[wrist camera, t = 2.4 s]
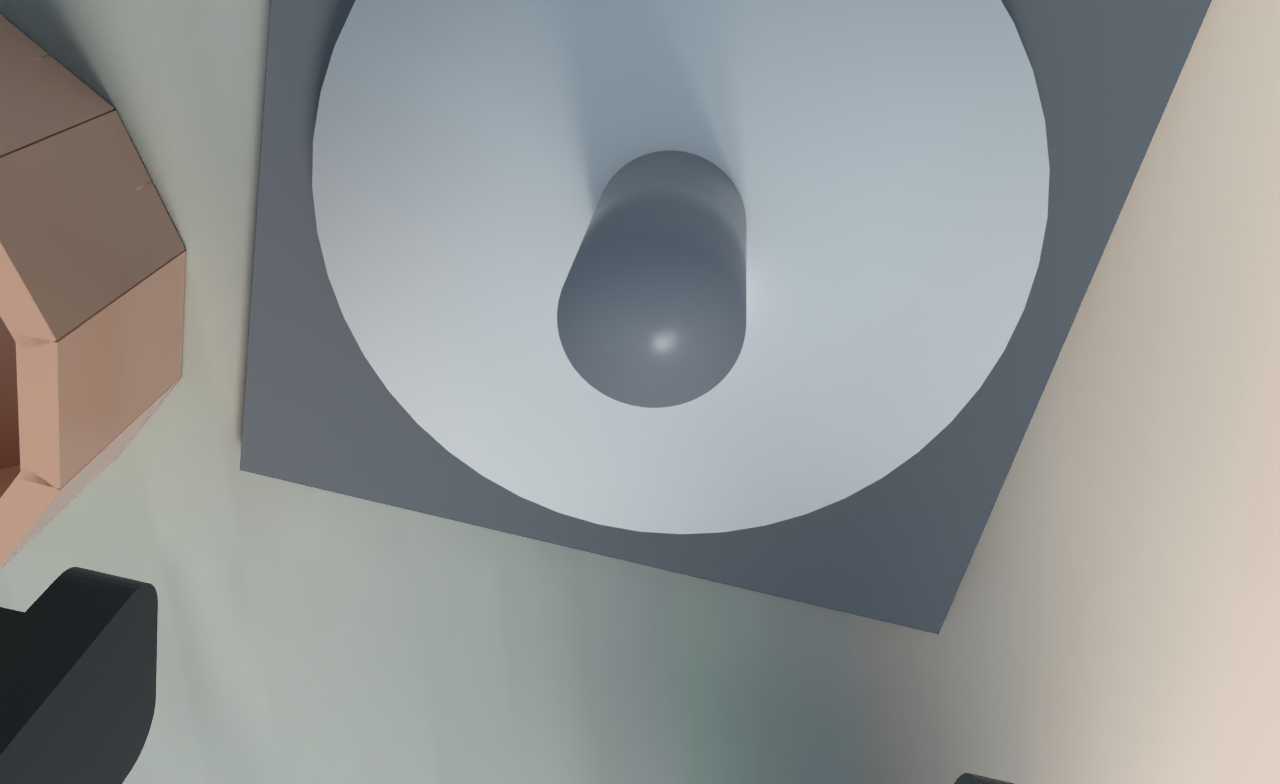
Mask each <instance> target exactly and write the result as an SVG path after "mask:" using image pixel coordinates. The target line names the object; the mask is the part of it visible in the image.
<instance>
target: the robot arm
mask: <svg viewBox="0 0 1280 784" xmlns="http://www.w3.org/2000/svg"><path fill="white" fill-rule="evenodd" d="M157 612H158V599H157V592H156V590H155V587H154V586H153V585H151V584H149V583H145V582H140V581H136V580H132V579H127V578H123V577H118V576H114V575H110V574H105V573H101V572H96V571H92V570H88V569H83V568H79V567H73V568H70V569H68V570H66V571H65V572H63V573H62V574H61V575H60V576H59V577H58V578H57V579H56V580H55V581H54V582H53V583H52V584H51V585H50V586H49V587H48V589H47V590H46V591H45V592H44V593H43V594H42V595H41V596H40V597H39V598H38V599H37V600H36V601H35V602H34V603H33V604H32V606H31V607H30V608H29V609H28V610H27V611H26V612H25V613H24V612H20V611H15V610H11V609H6V608H2V607H0V784H122V783H123V781H124V780H125V778H126V777H127V775H128V774H129V772H130V771H131V769H132V767H133V766H134V764H135V762H136V761H137V759H138V757H139V755H140V753H141V751H142V748H143V746H144V744H145V741H146V739H147V736H148V733H149V730H150V726H151V723H152V719H153V715H154V709H155V700H156V659H157ZM954 784H1013V783H1009V782H1004V781H1000V780H996V779H991V778H987V777H983V776H978V775H974V774H969V773H965V774H962V775H961V776H960V777H959V778H958V779H957V780H956V782H955V783H954Z"/></svg>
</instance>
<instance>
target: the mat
mask: <svg viewBox="0 0 1280 784" xmlns="http://www.w3.org/2000/svg"><path fill="white" fill-rule="evenodd" d="M355 1H356V0H271V6H270V22H269V37H268V52H267V67H266V82H265V97H264V112H263V127H262V143H261V158H260V173H259V188H258V203H257V218H256V233H255V248H254V264H253V279H252V294H251V309H250V324H249V339H248V354H247V369H246V385H245V400H244V415H243V430H242V445H241V460H240V470H242V471H247V472H251V473H255V474H259V475H264V476H268V477H272V478H276V479H281V480H285V481H289V482H293V483H298V484H302V485H306V486H310V487H315V488H319V489H323V490H328V491H332V492H336V493H340V494H345V495H349V496H353V497H357V498H362V499H366V500H370V501H374V502H379V503H383V504H387V505H391V506H396V507H400V508H404V509H408V510H413V511H417V512H421V513H425V514H430V515H434V516H438V517H442V518H447V519H451V520H455V521H459V522H464V523H468V524H472V525H476V526H481V527H485V528H489V529H493V530H498V531H502V532H506V533H510V534H515V535H519V536H523V537H527V538H532V539H536V540H540V541H544V542H549V543H553V544H557V545H561V546H566V547H570V548H574V549H578V550H583V551H587V552H591V553H595V554H600V555H604V556H608V557H613V558H617V559H621V560H625V561H630V562H634V563H638V564H642V565H647V566H651V567H655V568H659V569H664V570H668V571H672V572H676V573H681V574H685V575H689V576H693V577H698V578H702V579H706V580H710V581H715V582H719V583H723V584H727V585H732V586H736V587H740V588H744V589H749V590H753V591H757V592H761V593H766V594H770V595H774V596H778V597H783V598H787V599H791V600H795V601H800V602H804V603H808V604H812V605H817V606H821V607H825V608H829V609H834V610H838V611H842V612H846V613H851V614H855V615H859V616H863V617H868V618H872V619H876V620H880V621H885V622H889V623H893V624H898V625H902V626H906V627H910V628H915V629H919V630H923V631H927V632H932V633H936V634H939V632H940V629H941V627H942V625H943V622H944V620H945V618H946V616H947V613H948V611H949V609H950V606H951V604H952V602H953V599H954V597H955V595H956V592H957V590H958V588H959V585H960V583H961V581H962V578H963V576H964V574H965V571H966V569H967V567H968V564H969V562H970V560H971V558H972V555H973V553H974V551H975V548H976V546H977V544H978V541H979V539H980V537H981V534H982V532H983V530H984V527H985V525H986V523H987V520H988V518H989V516H990V513H991V511H992V509H993V506H994V504H995V502H996V500H997V497H998V495H999V493H1000V490H1001V488H1002V486H1003V483H1004V481H1005V479H1006V476H1007V474H1008V472H1009V469H1010V467H1011V465H1012V462H1013V460H1014V458H1015V455H1016V453H1017V451H1018V449H1019V446H1020V444H1021V442H1022V439H1023V437H1024V435H1025V432H1026V430H1027V428H1028V425H1029V423H1030V421H1031V418H1032V416H1033V414H1034V411H1035V409H1036V407H1037V404H1038V402H1039V400H1040V397H1041V395H1042V393H1043V391H1044V388H1045V386H1046V384H1047V381H1048V379H1049V377H1050V374H1051V372H1052V370H1053V367H1054V365H1055V363H1056V360H1057V358H1058V356H1059V353H1060V351H1061V349H1062V346H1063V344H1064V342H1065V339H1066V337H1067V335H1068V333H1069V330H1070V328H1071V326H1072V323H1073V321H1074V319H1075V316H1076V314H1077V312H1078V309H1079V307H1080V305H1081V302H1082V300H1083V298H1084V295H1085V293H1086V291H1087V288H1088V286H1089V284H1090V281H1091V279H1092V277H1093V275H1094V272H1095V270H1096V268H1097V265H1098V263H1099V261H1100V258H1101V256H1102V254H1103V251H1104V249H1105V247H1106V244H1107V242H1108V240H1109V237H1110V235H1111V233H1112V230H1113V228H1114V226H1115V223H1116V221H1117V219H1118V217H1119V214H1120V212H1121V210H1122V207H1123V205H1124V203H1125V200H1126V198H1127V196H1128V193H1129V191H1130V189H1131V186H1132V184H1133V182H1134V179H1135V177H1136V175H1137V172H1138V170H1139V168H1140V165H1141V163H1142V161H1143V159H1144V156H1145V154H1146V152H1147V149H1148V147H1149V145H1150V142H1151V140H1152V138H1153V135H1154V133H1155V131H1156V128H1157V126H1158V124H1159V121H1160V119H1161V117H1162V114H1163V112H1164V110H1165V107H1166V105H1167V103H1168V101H1169V98H1170V96H1171V94H1172V91H1173V89H1174V87H1175V84H1176V82H1177V80H1178V77H1179V75H1180V73H1181V70H1182V68H1183V66H1184V63H1185V61H1186V59H1187V56H1188V54H1189V52H1190V49H1191V47H1192V45H1193V43H1194V40H1195V38H1196V36H1197V33H1198V31H1199V29H1200V26H1201V24H1202V22H1203V19H1204V17H1205V15H1206V12H1207V10H1208V8H1209V5H1210V3H1211V1H1212V0H1001V1H1002V3H1003V5H1004V6H1005V8H1006V10H1007V12H1008V13H1009V15H1010V17H1011V19H1012V20H1013V22H1014V24H1015V27H1016V29H1017V32H1018V34H1019V37H1020V39H1021V42H1022V44H1023V47H1024V49H1025V52H1026V54H1027V57H1028V59H1029V62H1030V64H1031V67H1032V69H1033V72H1034V76H1035V81H1036V85H1037V89H1038V93H1039V97H1040V101H1041V106H1042V110H1043V114H1044V118H1045V125H1046V136H1047V147H1048V157H1049V168H1050V174H1049V195H1048V217H1047V223H1046V229H1045V234H1044V240H1043V245H1042V250H1041V256H1040V261H1039V266H1038V269H1037V272H1036V275H1035V278H1034V281H1033V284H1032V287H1031V290H1030V293H1029V296H1028V299H1027V302H1026V306H1025V309H1024V311H1023V313H1022V315H1021V317H1020V319H1019V321H1018V323H1017V325H1016V328H1015V330H1014V332H1013V334H1012V336H1011V338H1010V340H1009V342H1008V344H1007V346H1006V348H1005V350H1004V352H1003V354H1002V355H1001V357H1000V358H999V360H998V361H997V363H996V364H995V366H994V367H993V369H992V370H991V372H990V373H989V375H988V376H987V378H986V380H985V381H984V383H983V384H982V386H981V387H980V389H979V390H978V391H977V392H976V393H975V395H974V396H973V397H972V398H971V399H970V400H969V402H968V403H967V404H966V405H965V406H964V407H963V409H962V410H961V411H960V412H959V413H958V415H957V416H956V417H955V418H954V419H953V420H952V422H951V423H950V424H949V425H947V426H946V427H945V428H944V429H943V430H942V431H941V432H940V433H939V434H938V435H937V436H935V437H934V438H933V439H932V440H931V441H930V442H929V443H928V444H927V445H926V446H925V447H923V448H922V449H921V450H920V451H919V452H918V453H917V454H915V455H914V456H912V457H911V458H910V459H908V460H907V461H905V462H904V463H903V464H901V465H900V466H898V467H897V468H896V469H894V470H893V471H891V472H890V473H889V474H887V475H886V476H884V477H883V478H881V479H879V480H878V481H876V482H874V483H872V484H870V485H869V486H867V487H865V488H863V489H861V490H859V491H858V492H856V493H854V494H852V495H850V496H849V497H847V498H845V499H842V500H840V501H837V502H835V503H832V504H830V505H828V506H825V507H823V508H820V509H818V510H815V511H813V512H810V513H808V514H805V515H802V516H798V517H794V518H791V519H787V520H784V521H780V522H777V523H773V524H769V525H766V526H760V527H754V528H748V529H741V530H735V531H729V532H721V533H700V534H668V533H653V532H639V531H633V530H627V529H622V528H616V527H610V526H605V525H599V524H595V523H592V522H589V521H585V520H582V519H578V518H575V517H571V516H568V515H565V514H561V513H558V512H556V511H553V510H551V509H548V508H546V507H544V506H541V505H539V504H536V503H534V502H532V501H529V500H527V499H524V498H522V497H520V496H518V495H516V494H514V493H512V492H511V491H509V490H507V489H505V488H503V487H502V486H500V485H498V484H496V483H494V482H493V481H491V480H489V479H487V478H485V477H484V476H482V475H481V474H479V473H478V472H476V471H475V470H474V469H472V468H471V467H469V466H468V465H467V464H465V463H464V462H462V461H461V460H460V459H458V458H457V457H455V456H454V455H453V454H451V453H450V452H448V451H447V450H446V449H445V448H444V447H443V446H442V445H441V444H440V443H438V442H437V441H436V440H435V439H434V438H433V437H432V436H431V435H429V434H428V433H427V432H426V431H425V430H424V429H423V428H422V427H421V426H419V425H418V424H417V423H416V422H415V420H414V419H413V418H412V417H411V416H410V415H409V414H408V412H407V411H406V410H405V409H404V408H403V407H402V406H401V405H400V403H399V402H398V401H397V400H396V399H395V398H394V397H393V396H392V394H391V393H390V392H389V391H388V389H387V388H386V387H385V385H384V384H383V382H382V381H381V379H380V378H379V376H378V375H377V374H376V372H375V371H374V369H373V368H372V366H371V365H370V364H369V362H368V361H367V359H366V358H365V356H364V355H363V353H362V351H361V349H360V347H359V345H358V343H357V341H356V339H355V338H354V336H353V334H352V332H351V330H350V328H349V326H348V324H347V322H346V321H345V319H344V317H343V314H342V311H341V309H340V306H339V304H338V301H337V298H336V296H335V293H334V290H333V288H332V285H331V283H330V280H329V277H328V274H327V270H326V266H325V262H324V258H323V254H322V250H321V245H320V241H319V237H318V233H317V226H316V217H315V208H314V199H313V190H312V168H313V137H314V131H315V124H316V118H317V111H318V105H319V98H320V93H321V89H322V86H323V83H324V79H325V76H326V72H327V69H328V66H329V62H330V59H331V56H332V52H333V49H334V46H335V44H336V42H337V40H338V37H339V35H340V33H341V31H342V29H343V26H344V24H345V22H346V20H347V18H348V16H349V13H350V11H351V9H352V7H353V5H354V2H355Z"/></svg>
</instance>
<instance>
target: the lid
mask: <svg viewBox="0 0 1280 784" xmlns="http://www.w3.org/2000/svg"><path fill="white" fill-rule="evenodd" d="M1049 174H1050V168H1049V157H1048V147H1047V136H1046V125H1045V118H1044V114H1043V110H1042V106H1041V101H1040V97H1039V93H1038V89H1037V85H1036V81H1035V76H1034V72H1033V69H1032V67H1031V64H1030V62H1029V59H1028V57H1027V54H1026V52H1025V49H1024V47H1023V44H1022V42H1021V39H1020V37H1019V34H1018V32H1017V29H1016V27H1015V24H1014V22H1013V20H1012V19H1011V17H1010V15H1009V13H1008V12H1007V10H1006V8H1005V6H1004V5H1003V3H1002V1H1001V0H356V1H355V2H354V5H353V7H352V9H351V11H350V13H349V16H348V18H347V20H346V22H345V24H344V26H343V29H342V31H341V33H340V35H339V37H338V40H337V42H336V44H335V46H334V49H333V52H332V56H331V59H330V62H329V66H328V69H327V72H326V76H325V79H324V83H323V86H322V89H321V93H320V98H319V105H318V111H317V118H316V124H315V131H314V137H313V168H312V190H313V199H314V208H315V217H316V226H317V233H318V237H319V241H320V245H321V250H322V254H323V258H324V262H325V266H326V270H327V274H328V277H329V280H330V283H331V285H332V288H333V290H334V293H335V296H336V298H337V301H338V304H339V306H340V309H341V311H342V314H343V317H344V319H345V321H346V322H347V324H348V326H349V328H350V330H351V332H352V334H353V336H354V338H355V339H356V341H357V343H358V345H359V347H360V349H361V351H362V353H363V355H364V356H365V358H366V359H367V361H368V362H369V364H370V365H371V366H372V368H373V369H374V371H375V372H376V374H377V375H378V376H379V378H380V379H381V381H382V382H383V384H384V385H385V387H386V388H387V389H388V391H389V392H390V393H391V394H392V396H393V397H394V398H395V399H396V400H397V401H398V402H399V403H400V405H401V406H402V407H403V408H404V409H405V410H406V411H407V412H408V414H409V415H410V416H411V417H412V418H413V419H414V420H415V422H416V423H417V424H418V425H419V426H421V427H422V428H423V429H424V430H425V431H426V432H427V433H428V434H429V435H431V436H432V437H433V438H434V439H435V440H436V441H437V442H438V443H440V444H441V445H442V446H443V447H444V448H445V449H446V450H447V451H448V452H450V453H451V454H453V455H454V456H455V457H457V458H458V459H460V460H461V461H462V462H464V463H465V464H467V465H468V466H469V467H471V468H472V469H474V470H475V471H476V472H478V473H479V474H481V475H482V476H484V477H485V478H487V479H489V480H491V481H493V482H494V483H496V484H498V485H500V486H502V487H503V488H505V489H507V490H509V491H511V492H512V493H514V494H516V495H518V496H520V497H522V498H524V499H527V500H529V501H532V502H534V503H536V504H539V505H541V506H544V507H546V508H548V509H551V510H553V511H556V512H558V513H561V514H565V515H568V516H571V517H575V518H578V519H582V520H585V521H589V522H592V523H595V524H599V525H605V526H610V527H616V528H622V529H627V530H633V531H639V532H653V533H668V534H700V533H721V532H729V531H735V530H741V529H748V528H754V527H760V526H766V525H769V524H773V523H777V522H780V521H784V520H787V519H791V518H794V517H798V516H802V515H805V514H808V513H810V512H813V511H815V510H818V509H820V508H823V507H825V506H828V505H830V504H832V503H835V502H837V501H840V500H842V499H845V498H847V497H849V496H850V495H852V494H854V493H856V492H858V491H859V490H861V489H863V488H865V487H867V486H869V485H870V484H872V483H874V482H876V481H878V480H879V479H881V478H883V477H884V476H886V475H887V474H889V473H890V472H891V471H893V470H894V469H896V468H897V467H898V466H900V465H901V464H903V463H904V462H905V461H907V460H908V459H910V458H911V457H912V456H914V455H915V454H917V453H918V452H919V451H920V450H921V449H922V448H923V447H925V446H926V445H927V444H928V443H929V442H930V441H931V440H932V439H933V438H934V437H935V436H937V435H938V434H939V433H940V432H941V431H942V430H943V429H944V428H945V427H946V426H947V425H949V424H950V423H951V422H952V420H953V419H954V418H955V417H956V416H957V415H958V413H959V412H960V411H961V410H962V409H963V407H964V406H965V405H966V404H967V403H968V402H969V400H970V399H971V398H972V397H973V396H974V395H975V393H976V392H977V391H978V390H979V389H980V387H981V386H982V384H983V383H984V381H985V380H986V378H987V376H988V375H989V373H990V372H991V370H992V369H993V367H994V366H995V364H996V363H997V361H998V360H999V358H1000V357H1001V355H1002V354H1003V352H1004V350H1005V348H1006V346H1007V344H1008V342H1009V340H1010V338H1011V336H1012V334H1013V332H1014V330H1015V328H1016V325H1017V323H1018V321H1019V319H1020V317H1021V315H1022V313H1023V311H1024V309H1025V306H1026V302H1027V299H1028V296H1029V293H1030V290H1031V287H1032V284H1033V281H1034V278H1035V275H1036V272H1037V269H1038V266H1039V261H1040V256H1041V250H1042V245H1043V240H1044V234H1045V229H1046V223H1047V217H1048V195H1049Z"/></svg>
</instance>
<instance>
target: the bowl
mask: <svg viewBox="0 0 1280 784" xmlns="http://www.w3.org/2000/svg"><path fill="white" fill-rule="evenodd" d="M114 109H115V108H114V107H112V106H111V105H110V104H109V103H108V102H106V101H105V100H104V99H103V98H101V97H100V96H99V95H98V94H97V93H95V92H94V91H93V90H92V89H91V88H89V87H88V86H87V85H86V84H84V83H83V82H82V81H81V80H80V79H78V78H77V77H76V76H75V75H73V74H72V73H71V72H70V71H69V70H67V69H66V68H65V67H64V66H63V65H61V64H60V63H59V62H58V61H56V60H55V59H54V58H53V57H52V56H50V55H49V54H48V53H47V52H45V51H44V50H43V49H42V48H41V47H39V46H38V45H37V44H36V43H35V42H33V41H32V40H31V39H30V38H28V37H27V36H26V35H25V34H24V33H22V32H21V31H20V30H19V29H17V28H16V27H15V26H14V25H13V24H11V23H10V22H9V21H8V20H7V19H5V18H4V17H3V16H2V15H0V570H1V569H2V568H3V567H4V566H5V565H6V564H7V563H8V562H9V561H10V560H11V559H12V558H13V557H14V556H16V555H17V554H18V553H19V552H20V551H21V550H22V549H23V548H24V547H25V546H26V545H27V544H28V543H29V542H30V541H31V540H32V539H33V538H34V537H35V536H36V535H37V534H38V533H39V532H40V531H41V530H42V529H44V528H45V527H46V526H47V525H48V524H49V523H50V522H51V521H52V520H53V519H54V518H55V517H56V516H57V515H58V514H59V513H60V512H61V511H62V510H63V509H64V508H65V507H66V506H67V505H68V504H69V503H70V502H72V501H73V500H74V499H75V498H76V497H77V496H78V495H79V494H80V493H81V492H82V491H83V490H84V489H85V488H86V487H87V486H88V485H89V484H90V483H91V482H92V481H93V480H94V479H95V478H96V477H97V476H98V475H100V474H101V473H102V472H103V471H104V470H105V469H106V468H107V467H108V466H109V465H110V464H111V463H112V462H113V461H114V460H115V459H116V457H117V456H118V455H119V454H120V452H121V451H122V450H123V449H124V447H125V446H126V445H127V444H128V443H129V441H130V440H131V439H132V438H133V436H134V435H135V434H136V433H137V431H138V430H139V429H140V428H141V426H142V425H143V424H144V423H145V421H146V420H147V419H148V418H149V416H150V415H151V414H152V413H153V411H154V410H155V409H156V408H157V407H158V405H159V404H160V403H161V402H162V400H163V399H164V398H165V397H166V395H167V394H168V393H169V392H170V390H171V389H172V388H173V387H174V385H175V384H176V383H177V382H178V380H179V379H180V378H181V376H182V349H183V322H184V295H185V268H186V250H185V247H184V245H183V243H182V241H181V239H180V237H179V235H178V233H177V231H176V229H175V227H174V225H173V223H172V221H171V219H170V217H169V215H168V213H167V211H166V209H165V207H164V205H163V203H162V201H161V199H160V197H159V195H158V193H157V191H156V189H155V187H154V185H153V183H152V181H151V179H150V177H149V175H148V173H147V171H146V169H145V167H144V165H143V163H142V161H141V159H140V157H139V155H138V153H137V151H136V149H135V147H134V145H133V143H132V141H131V139H130V137H129V135H128V133H127V131H126V129H125V127H124V125H123V123H122V121H121V119H120V117H119V115H118V113H117V111H116V110H115V111H113V110H114Z"/></svg>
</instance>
